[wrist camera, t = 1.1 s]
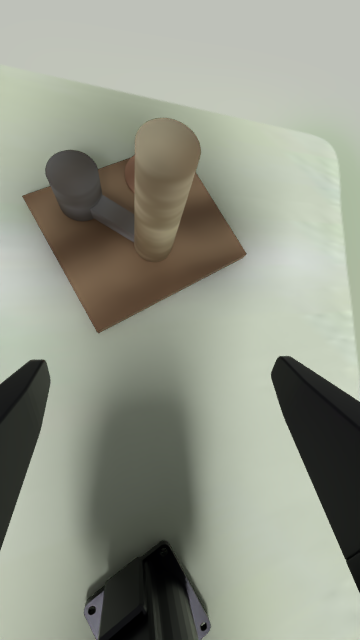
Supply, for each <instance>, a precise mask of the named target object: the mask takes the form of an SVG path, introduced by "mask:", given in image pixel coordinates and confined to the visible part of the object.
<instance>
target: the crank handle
mask: <svg viewBox="0 0 360 640" xmlns="http://www.w3.org/2000/svg"><path fill="white" fill-rule="evenodd" d="M200 155H201V148H200V143H199V141H198V139H197V137H196V135H195V134H194V133H193V131H192V130H191V129H190V128H188V127H187V126H186V125H184V124H183V123H181V122H179V121H176V120H173V119H169V118H156V119H152V120H149V121H147V122H146V123H144V124H143V125H142V126H141V127H140V128H139V129H138V131H137V133H136V136H135V200H134V214H133V213H131V212H130V211H128V210H126V209H125V208H123V207H122V206H120V205H118V204H117V203H115V202H113V201H112V200H110V199H109V198H107V197H105V196H104V195H102V189H101V184H100V178H99V172H98V168H97V165H96V163H95V162H94V161H93V159H92V158H90V157H89V156H88V155H86V154H84V153H82V152H79V151H75V150H65V151H61V152H58V153H56V154H55V155H53V156H52V157H51V158H50V159H49V160H48V162H47V164H46V169H45V172H46V177H47V179H48V181H49V184H50V186H51V188H52V190H53V193H54V195H55V197H56V199H57V202H58V204H59V206H60V208H61V210H62V212H63V213H64V214H65V215H66V216H68V217H69V218H71V219H73V220H77V221H88V220H92V219H96V220H97V221H99V222H101V223H102V224H104V225H106V226H107V227H109V228H111V229H112V230H114V231H116V232H117V233H119V234H121V235H122V236H124V237H126V238H127V239H129V240H131V241H132V242H134V246H135V250H136V252H137V254H138V255H139V256H140V257H141V258H142V259H144V260H146V261H149V262H160V261H162V260H164V259H166V258H167V257H168V256H169V254H170V252H171V249H172V246H173V243H174V240H175V236H176V233H177V230H178V227H179V223H180V220H181V217H182V214H183V211H184V207H185V204H186V201H187V198H188V194H189V191H190V188H191V185H192V181H193V178H194V175H195V172H196V169H197V165H198V162H199V159H200Z"/></svg>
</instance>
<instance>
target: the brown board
mask: <svg viewBox="0 0 360 640" xmlns="http://www.w3.org/2000/svg"><path fill="white" fill-rule="evenodd" d="M98 172H99V178H100V184H101V189H102V195H104V196H105V197H107V198H109V199H110V200H112V201H113V202H115V203H117V204H118V205H120V206H122V207H123V208H125V209H126V210H128V211H130V212H131V213H133V214H134V200H135V155H134V156H132V157H131V158H128V159H126V160H123V161H120V162H117V163H114V164H111V165H109V166H106V167H103V168H100V169H98ZM22 197H23V198H24V200H25V202H26V204H27V206H28V207H29V209H30V211H31V213H32V215H33V216H34V218H35V220H36V222H37V224H38V226H39V227H40V229H41V231H42V233H43V235H44V236H45V238H46V240H47V242H48V244H49V246H50V247H51V249H52V251H53V253H54V255H55V256H56V258H57V260H58V262H59V264H60V265H61V267H62V269H63V271H64V273H65V275H66V276H67V278H68V280H69V282H70V284H71V285H72V287H73V289H74V291H75V293H76V295H77V296H78V298H79V300H80V302H81V304H82V305H83V307H84V309H85V311H86V313H87V314H88V316H89V318H90V320H91V322H92V324H93V325H94V327H95V329H96V331H97V332H98V333H100V332H102V331H104V330H106V329H108V328H110V327H112V326H113V325H115V324H117V323H119V322H121V321H123V320H125V319H127V318H129V317H131V316H133V315H134V314H136V313H138V312H140V311H142V310H144V309H146V308H148V307H150V306H152V305H154V304H155V303H157V302H159V301H161V300H163V299H165V298H167V297H169V296H171V295H173V294H175V293H177V292H178V291H180V290H182V289H184V288H186V287H188V286H190V285H192V284H194V283H196V282H198V281H199V280H201V279H203V278H205V277H207V276H209V275H211V274H213V273H215V272H217V271H219V270H220V269H222V268H224V267H226V266H228V265H230V264H232V263H234V262H236V261H238V260H240V259H242V258H243V257H244V256H245V255H246V252H245V251H244V249H243V247H242V246H241V244H240V243H239V241H238V239H237V238H236V236H235V235H234V233H233V231H232V230H231V228H230V226H229V225H228V223H227V222H226V220H225V218H224V217H223V215H222V214H221V212H220V210H219V209H218V207H217V206H216V204H215V202H214V201H213V199H212V198H211V196H210V194H209V193H208V191H207V190H206V188H205V186H204V185H203V183H202V182H201V180H200V178H199V177H198V175H197V174H196V172H195V175H194V178H193V181H192V185H191V188H190V191H189V194H188V198H187V201H186V204H185V207H184V211H183V214H182V217H181V220H180V223H179V227H178V230H177V233H176V236H175V240H174V243H173V246H172V249H171V252H170V254H169V256H168V257H167V258H166V259H164V260H162V261H160V262H149V261H146V260H144V259H142V258H141V257H140V256H139V255H138V254H137V252H136V250H135V246H134V242H132V241H131V240H129V239H127V238H126V237H124V236H122V235H121V234H119V233H117V232H116V231H114V230H112V229H111V228H109V227H107V226H106V225H104V224H102V223H101V222H99V221H97V220H96V219H92V220H88V221H77V220H73V219H71V218H69V217H68V216H66V215H65V214H64V213H63V212H62V210H61V208H60V206H59V204H58V202H57V199H56V197H55V195H54V193H53V190H52V188H51V186H49V187H46V188H43V189H41V190H38V191H35V192H32V193H29V194H26V195H24V196H22Z"/></svg>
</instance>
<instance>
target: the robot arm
mask: <svg viewBox="0 0 360 640" xmlns="http://www.w3.org/2000/svg"><path fill="white" fill-rule="evenodd" d="M271 378H272V382H273V385H274V388H275V391H276V394H277V398H278V401H279V404H280V407H281V410H282V413H283V416H284V418H285V421H286V423H287V426H288V428H289V430H290V433H291V435H292V437H293V440H294V442H295V444H296V446H297V449H298V451H299V453H300V456H301V458H302V460H303V463H304V465H305V467H306V470H307V472H308V474H309V477H310V479H311V481H312V483H313V486H314V488H315V490H316V493H317V495H318V497H319V500H320V502H321V504H322V507H323V509H324V511H325V513H326V516H327V518H328V520H329V523H330V525H331V527H332V530H333V532H334V534H335V537H336V539H337V541H338V544H339V546H340V548H341V550H342V553H343V555H344V557H345V559H346V562H347V565H348V567H349V569H350V572H351V574H352V576H353V579H354V581H355V583H356V586H357V588H358V590H359V592H360V402H359V401H358V400H356V399H355V398H353V397H352V396H350V395H349V394H347V393H345V392H344V391H342V390H341V389H339V388H338V387H336V386H335V385H333V384H332V383H330V382H329V381H327V380H326V379H324V378H323V377H321V376H319V375H318V374H316V373H315V372H313V371H312V370H310V369H309V368H307V367H306V366H304V365H303V364H301V363H300V362H298V361H297V360H295V359H294V358H292V357H290V356H280V357H278V358H277V360H276V362H275V365H274V367H273V369H272V372H271ZM49 388H50V375H49V371H48V367H47V363H46V361H45V360H30V361H28V362H27V363H26V364H25V365H23V366H22V367H21V368H20V369H18V370H17V371H16V372H15V373H13V374H12V375H11V376H10V377H8V378H7V379H6V380H5V381H3V382H2V383H1V384H0V550H1V547H2V544H3V541H4V538H5V535H6V532H7V529H8V526H9V523H10V520H11V517H12V514H13V511H14V508H15V505H16V502H17V499H18V496H19V493H20V490H21V487H22V484H23V481H24V479H25V476H26V473H27V470H28V467H29V464H30V461H31V458H32V455H33V452H34V449H35V446H36V443H37V440H38V437H39V433H40V430H41V426H42V421H43V417H44V412H45V407H46V402H47V397H48V393H49ZM163 548H166V549H167V550H166V552H164V553H162V552H161V550H162V549H163ZM90 606H95V607H96V608H95V609H93V610H91V609H90V608H89V607H90ZM84 615H85V618H86V620H87V622H88V624H89V626H90V628H91V630H92V632H93V634H94V636H95V638H96V640H201V639H202V638H203V637H204V636H205V635H206V634H207V633H208V632H209V631H210V626H211V624H210V621H209V618H208V615H207V613H206V611H205V609H204V608H203V606H202V604H201V602H200V600H199V598H198V596H197V595H196V593H195V591H194V589H193V587H192V585H191V583H190V581H189V580H188V578H187V576H186V574H185V572H184V570H183V568H182V567H181V565H180V563H179V561H178V559H177V557H176V555H175V553H174V552H173V550H172V548H171V546H170V544H169V543H168V542H167V541H161V542H160V543H158V544H157V545H156V546H155V547H153V548H152V549H151V550H150V551H148V552H147V553H146V554H144V555H143V556H142V557H137V558H136V559H135V560H133V561H132V562H131V563H129V564H128V565H127V566H126V567H124V568H123V569H122V570H121V571H119V572H118V573H117V574H116V575H114V576H113V577H112V578H110V579H109V580H108V581H107V582H106V585H105V586H104V587H103V588H101V589H100V590H99V591H98V592H96V593H95V594H94V595H93V596H91V597H90V598H89V599H88V600H87V602H86V604H85V609H84ZM203 622H205V624H204V625H203V626H201V623H203Z"/></svg>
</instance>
